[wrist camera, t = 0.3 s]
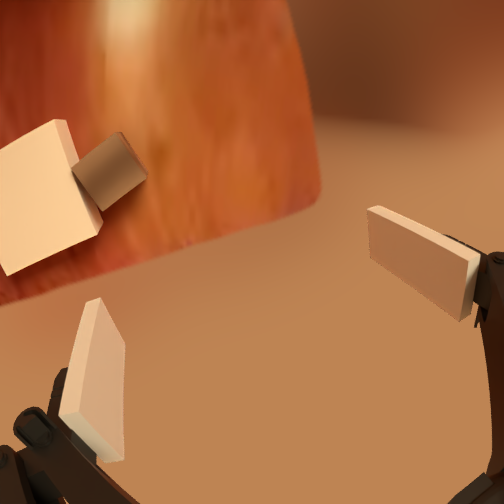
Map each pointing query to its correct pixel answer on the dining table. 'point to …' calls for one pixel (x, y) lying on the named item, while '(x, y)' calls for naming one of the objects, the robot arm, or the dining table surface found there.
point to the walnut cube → (110, 170)
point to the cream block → (42, 198)
